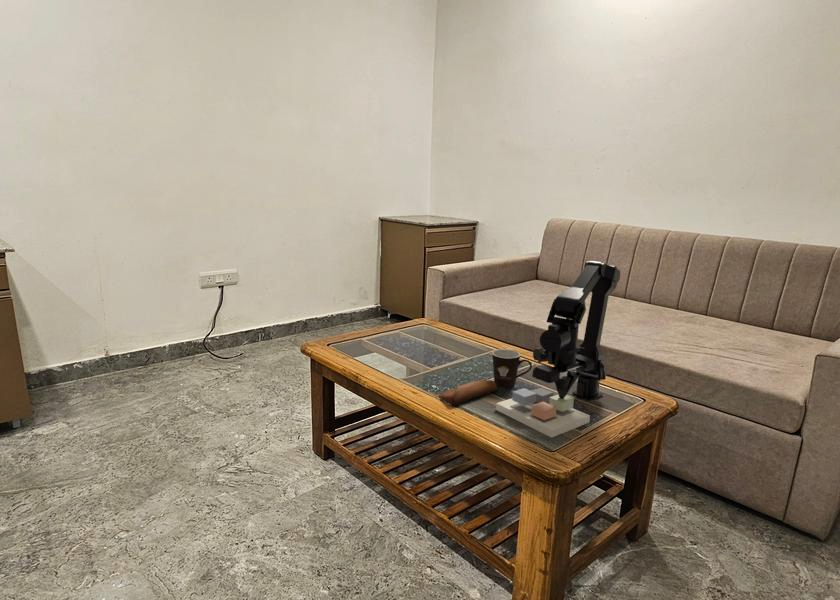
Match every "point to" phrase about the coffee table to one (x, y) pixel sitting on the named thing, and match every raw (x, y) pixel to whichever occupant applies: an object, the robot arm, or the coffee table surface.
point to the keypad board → (549, 426)
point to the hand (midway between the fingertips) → (561, 398)
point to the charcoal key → (542, 395)
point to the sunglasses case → (468, 391)
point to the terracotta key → (543, 410)
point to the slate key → (524, 396)
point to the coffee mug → (506, 367)
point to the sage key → (561, 402)
